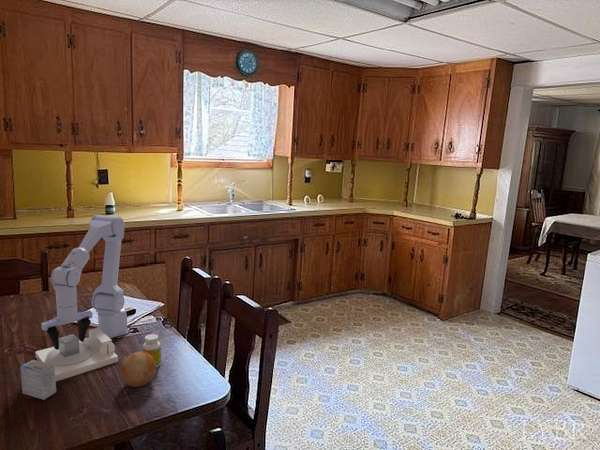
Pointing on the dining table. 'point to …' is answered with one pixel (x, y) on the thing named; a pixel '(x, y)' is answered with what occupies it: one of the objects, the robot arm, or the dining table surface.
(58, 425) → the dining table surface
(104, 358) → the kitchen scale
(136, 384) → the onion
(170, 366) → the dining table surface
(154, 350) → the supplement bottle
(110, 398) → the dining table surface
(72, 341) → the steel weight
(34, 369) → the medicine box
